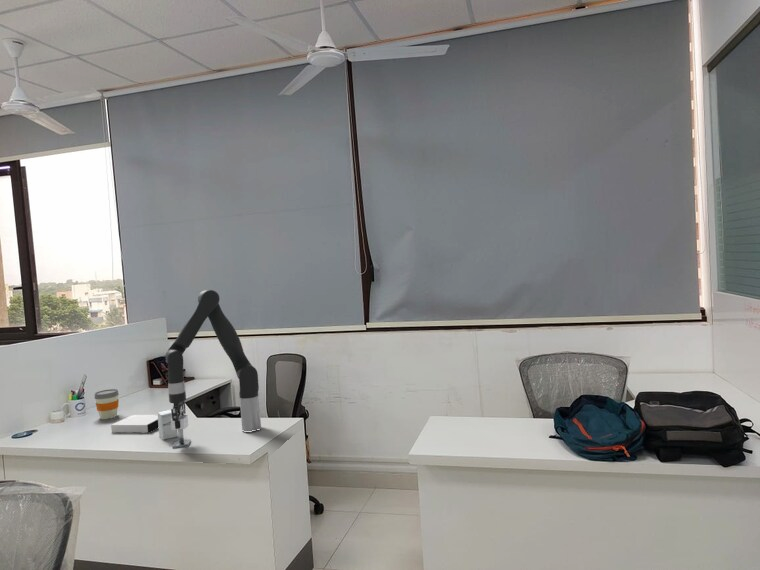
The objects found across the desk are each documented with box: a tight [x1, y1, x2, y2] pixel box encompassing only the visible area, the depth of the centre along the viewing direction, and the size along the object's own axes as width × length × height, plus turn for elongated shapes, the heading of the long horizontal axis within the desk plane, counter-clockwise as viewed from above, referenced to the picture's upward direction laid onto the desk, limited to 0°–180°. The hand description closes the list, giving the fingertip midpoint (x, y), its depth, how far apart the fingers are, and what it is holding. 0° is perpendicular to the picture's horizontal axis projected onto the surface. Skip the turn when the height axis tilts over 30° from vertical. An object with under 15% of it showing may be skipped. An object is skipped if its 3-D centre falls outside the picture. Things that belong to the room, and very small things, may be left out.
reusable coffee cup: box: [94, 388, 120, 420], centre depth 307 cm, size 12×13×15 cm
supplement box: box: [156, 409, 178, 441], centre depth 263 cm, size 7×7×13 cm
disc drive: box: [110, 414, 159, 433], centre depth 282 cm, size 18×22×5 cm
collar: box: [171, 414, 189, 431], centre depth 248 cm, size 6×6×5 cm
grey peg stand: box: [171, 429, 191, 449], centre depth 249 cm, size 7×7×10 cm
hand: (180, 426), depth 249 cm, fingers closed on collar, 6 cm apart
